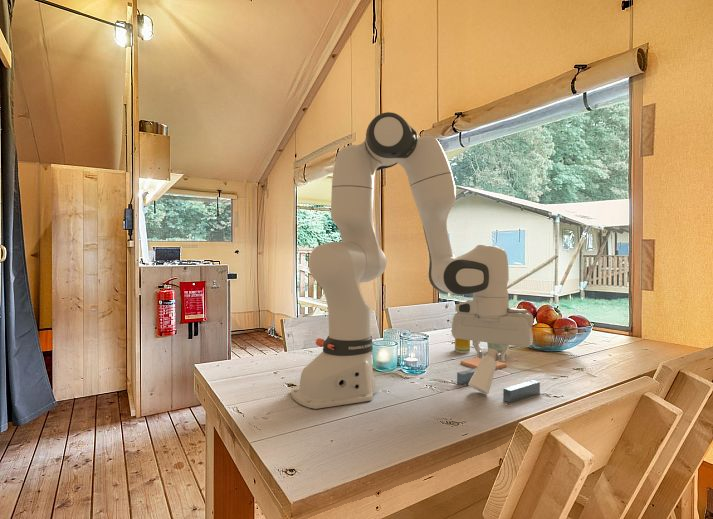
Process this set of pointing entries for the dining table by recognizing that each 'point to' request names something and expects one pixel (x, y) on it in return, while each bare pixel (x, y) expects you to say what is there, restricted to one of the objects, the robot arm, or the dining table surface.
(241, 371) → the dining table surface
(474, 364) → the mat
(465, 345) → the supplement bottle
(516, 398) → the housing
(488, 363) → the pepper shaker
